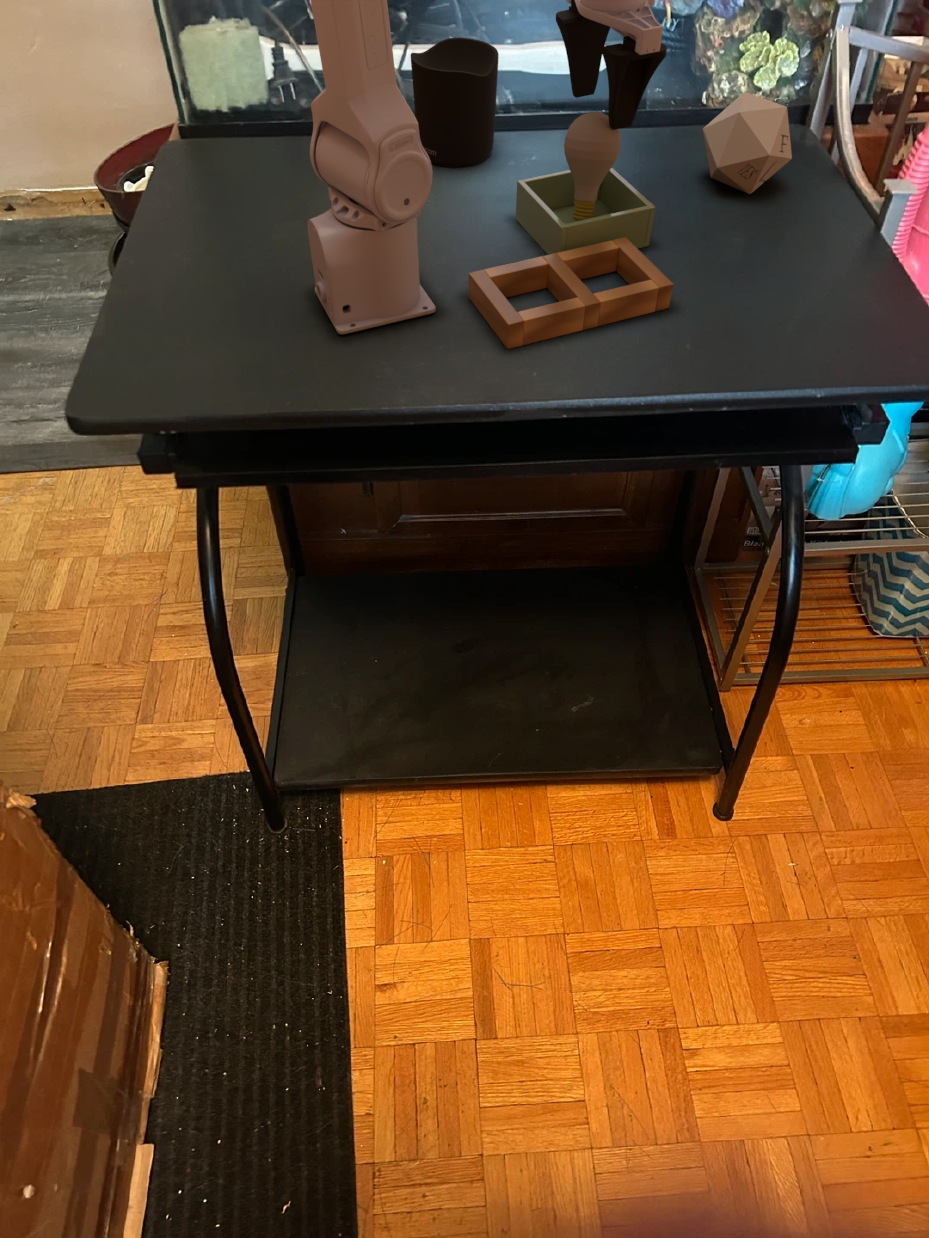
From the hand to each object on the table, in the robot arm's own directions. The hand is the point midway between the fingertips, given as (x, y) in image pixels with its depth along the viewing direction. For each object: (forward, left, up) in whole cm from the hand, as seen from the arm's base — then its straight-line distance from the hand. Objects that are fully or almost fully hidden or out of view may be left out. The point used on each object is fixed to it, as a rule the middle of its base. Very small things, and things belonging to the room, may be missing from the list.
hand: (601, 110), depth 86 cm
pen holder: (-8, +18, -10) cm, 22 cm away
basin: (-3, -4, -10) cm, 11 cm away
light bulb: (-3, -4, -9) cm, 10 cm away
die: (+18, -1, -10) cm, 20 cm away
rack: (-10, -15, -10) cm, 21 cm away
